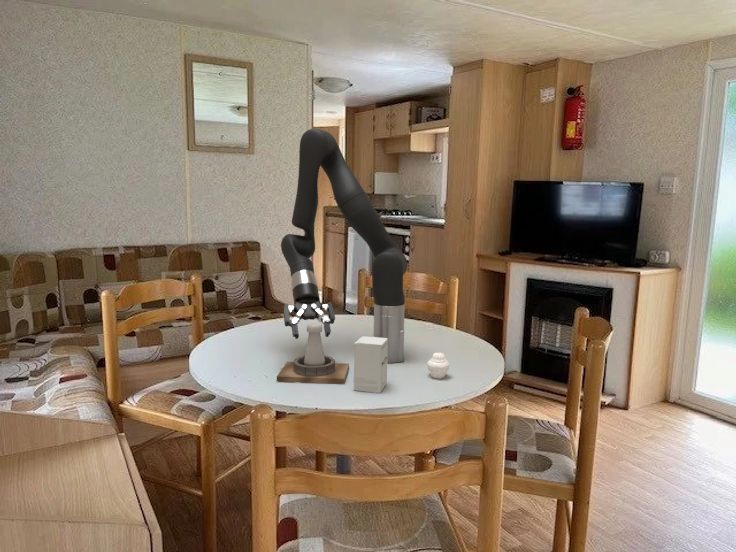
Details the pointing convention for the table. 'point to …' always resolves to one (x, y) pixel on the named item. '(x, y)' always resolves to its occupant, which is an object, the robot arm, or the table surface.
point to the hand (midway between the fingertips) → (312, 336)
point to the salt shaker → (314, 346)
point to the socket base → (314, 372)
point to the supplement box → (370, 364)
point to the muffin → (438, 365)
